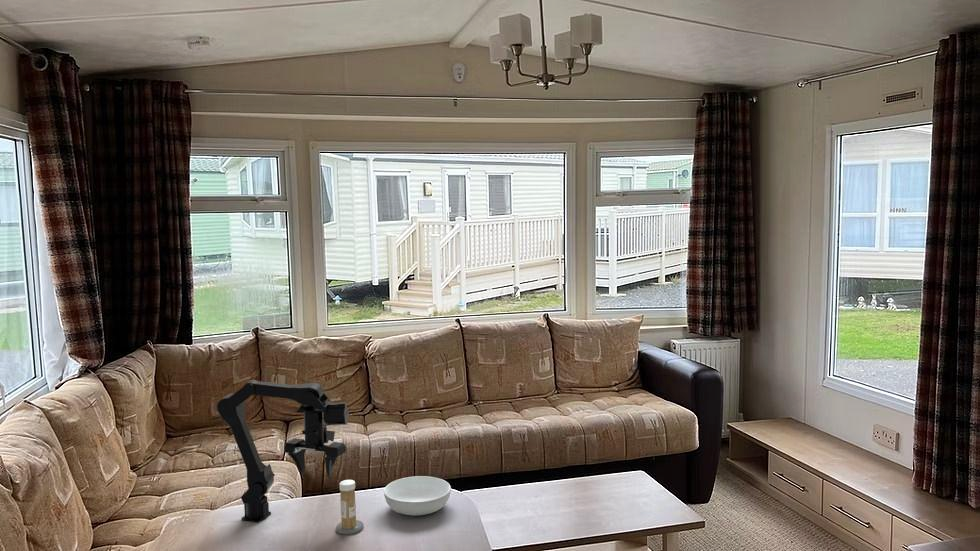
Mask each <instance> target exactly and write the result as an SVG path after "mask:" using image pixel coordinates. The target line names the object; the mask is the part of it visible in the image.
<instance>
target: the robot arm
mask: <svg viewBox="0 0 980 551" xmlns="http://www.w3.org/2000/svg"><path fill="white" fill-rule="evenodd" d="M251 396H258V397H266V398H267V397H269V398H276V399H286V400H291V401H294V402H295V403H297V404H300V407H298V408H297V409H296V413H303V426H304V429H302V430H301V434H302V435H304V439H302V438H293V439H290V440H288V441H287V442H286V443H284V446H283V452H284V453H286V454H287V456H290V458H292V461H293V462H294V463H295V464H296V467H298V469H299V472H300V473H301V474H303V475H304V474H305V472H306V461H305V460H306V459H305V453H306V451H314V452H324V455H325V457H324V462H325V463H324V464H325V469H326V474H327V475H326V476H327V477H328V478H329V477H331V475H332V473H333V470H334V466H335V464H336V461H337V459H338V458H339V457H340V456H342V455H343V454H344V453H347V445H346V444H345V443H344V442H337V441H335V435H336V434H335V433H336V431H335V430H327V426H340V425H341V426H344V425H345V426H347V425H348V423H349V414H350V413H349V409H348V406H347V402H346V401H340V402H332V401H331V399H330V398H329V397H328V396H327V395H326V394H325V390H324V388H323V387H322V385H321V384H320V383H317V382H307V383H299V384H287V383H277V382H270V381H269V382H268V381H261V380H256V379H252V380H251V379H250V380H249V381H248V382H246V383H245V384H244V385H243V386H242V387H241V388H240V389H238V390H237V391H235V392H231V393H229V394H227V395H226V396H224V397H222V399H220V400H219V401H218V402H217V405H216V410H217V412H218V415H219V416H220V418H221V419H222V421H223V422H224V423H226V424H227V425H228V426H229V428H230V430H231V432H232V435H233V438H234V440H235V443H236V445H237V449H238V450H239V453H240V455H241V458H242V461H243V463H244V466H245V469H246V482H247V488H248V489H247V490H246V491H245V492H244V493H243V494H241V495H242V496H240V498H241V500H242V503H243V506H244V508H243V509H244V516H242V517H241V519H240V520H241V521H249V522H256V523H260V522H261V521H262V520H265V519H266V518H267V517H269V516H270V515H271V514H272V511H270V507H269V506H270V505H269V501H268V496H267V495H265V494H266V493H268V491H269V490H270V488H272V486H273V485H274V483H275V478H274V477H275V476H276V474H275V473H274V472H273V469H272V465H271V464H270V463H269V464H267V465H265V463H264V462H262V459H261V457H260V454H259V452H258V449H257V447H256V444H255V442H254V438H253V436H252V433H251V431H250V428H249V426H248V424H247V421H246V407H245V401H246V400H248V399H249V398H250V397H251ZM324 423H325V424H326V425H327V426H325V425H324ZM329 442H332V443H329ZM328 443H329V445H328ZM326 444H327V445H326Z"/></svg>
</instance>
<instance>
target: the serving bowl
mask: <svg viewBox="0 0 980 551" xmlns="http://www.w3.org/2000/svg"><path fill="white" fill-rule="evenodd" d="M451 491H452V487H451V485H450V483H449V482H448V481H446V480H444V479H442V478H439V477H434V476H429V475H428V476H426V475H424V476H423V475H416V476H408V477H403V478H399V479H395V480H393V481H391V482H390V483H388V484H387V485H386V486H385V487H384V489H383V494H384V500H385V502H386V504H387V505H388V507H389V508H390V509H392V510H393V511H394V512H396V513H399V514H402V515H406V516H424V515H429V514H432V513H434V512H437V511H439V510H441V509H442V508H443V507H445V505H446V504H447V503H448V501H449V499H450V496H451Z"/></svg>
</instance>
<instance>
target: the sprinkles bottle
mask: <svg viewBox="0 0 980 551" xmlns="http://www.w3.org/2000/svg"><path fill="white" fill-rule="evenodd" d="M355 489H356V482H355V480H353V479H344V480H342V481H340V482H339V494H340V495H339V496H340V499H339V501H340V516H341V522H342V524H341V527H342V528H344V529H351V528H354V527H355V526H356V525H357V523H356V520H357V510H356V509H357V507H356V506H357V505H356V504H357V503H356V490H355Z"/></svg>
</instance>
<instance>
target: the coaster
mask: <svg viewBox="0 0 980 551" xmlns="http://www.w3.org/2000/svg"><path fill="white" fill-rule="evenodd" d="M356 523H357V525H356V526H355V527H354V528H351V529H344V528H342V527H341V524H342V521H341V522H339V523H337V524H336V526H335V531H336V533H337V534H338V535H343V536H350V535H355V534H356V535H357V534H358V533H360V532H362V531H364V530H363V529H364V527H365V526H364V522H363V521H361V520H357V519H356Z"/></svg>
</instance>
